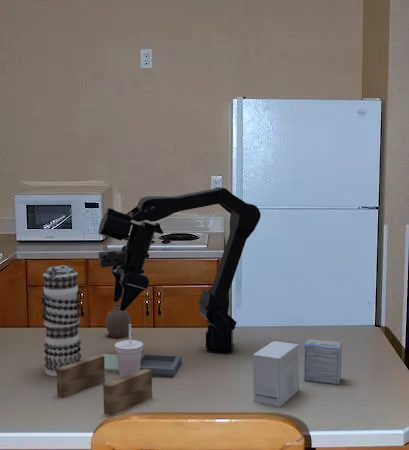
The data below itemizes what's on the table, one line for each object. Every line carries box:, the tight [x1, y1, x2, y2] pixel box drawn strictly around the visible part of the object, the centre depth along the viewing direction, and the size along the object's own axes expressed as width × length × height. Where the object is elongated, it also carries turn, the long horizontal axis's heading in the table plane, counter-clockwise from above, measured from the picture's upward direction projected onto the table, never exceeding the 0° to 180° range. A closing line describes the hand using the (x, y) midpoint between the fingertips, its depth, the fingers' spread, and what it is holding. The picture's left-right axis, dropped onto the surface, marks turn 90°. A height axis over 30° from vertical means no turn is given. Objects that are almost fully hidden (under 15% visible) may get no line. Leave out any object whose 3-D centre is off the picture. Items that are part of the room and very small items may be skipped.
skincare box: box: [252, 340, 300, 408], centre depth 138 cm, size 10×6×10 cm, turn 150°
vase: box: [105, 303, 132, 338], centre depth 182 cm, size 7×7×9 cm
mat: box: [100, 353, 119, 373], centre depth 159 cm, size 10×10×1 cm
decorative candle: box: [40, 264, 82, 377], centre depth 153 cm, size 9×9×25 cm
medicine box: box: [303, 339, 343, 385], centre depth 147 cm, size 8×4×9 cm, turn 71°
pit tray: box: [140, 353, 183, 378], centre depth 155 cm, size 10×10×2 cm
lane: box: [56, 354, 153, 416], centre depth 138 cm, size 12×17×6 cm
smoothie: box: [114, 323, 144, 378], centre depth 143 cm, size 6×6×14 cm
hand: (118, 305), depth 160 cm, fingers open, 9 cm apart
